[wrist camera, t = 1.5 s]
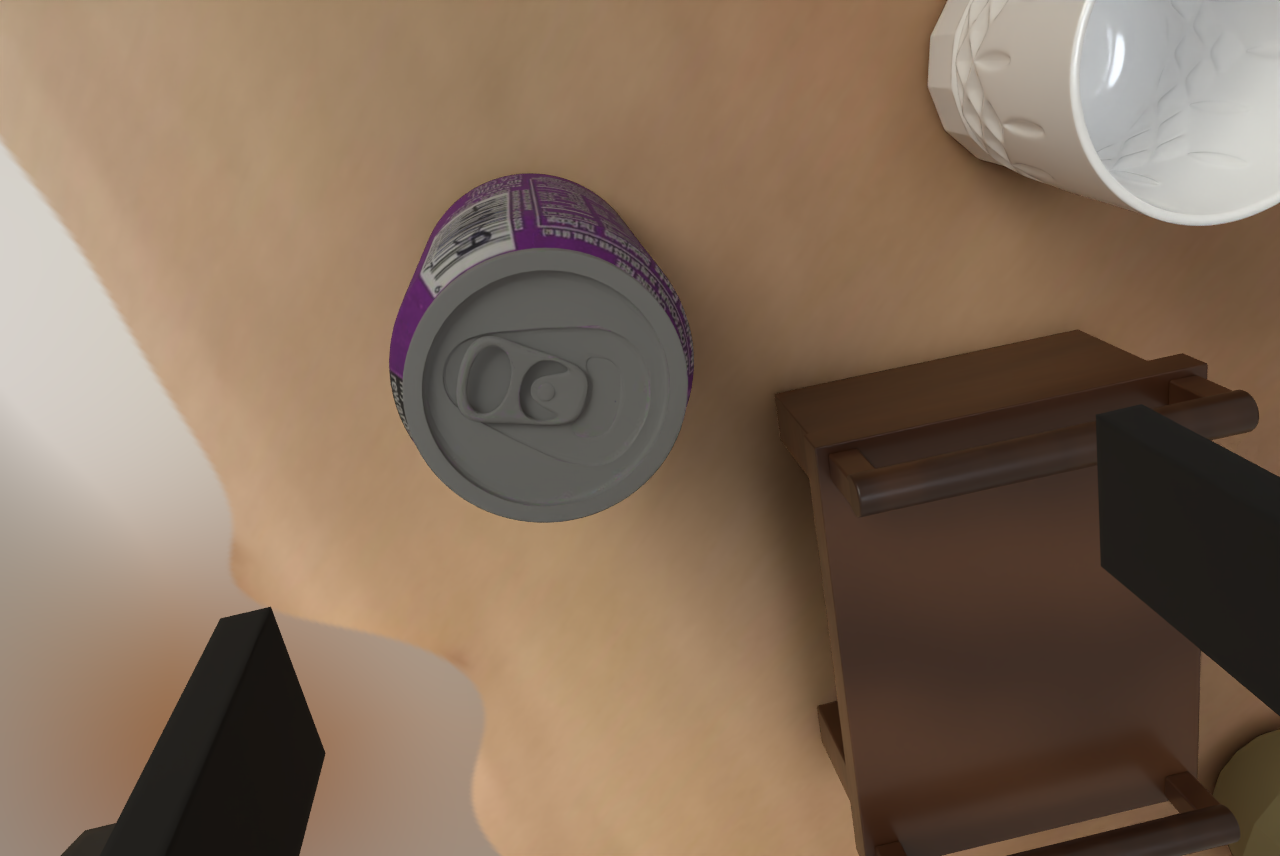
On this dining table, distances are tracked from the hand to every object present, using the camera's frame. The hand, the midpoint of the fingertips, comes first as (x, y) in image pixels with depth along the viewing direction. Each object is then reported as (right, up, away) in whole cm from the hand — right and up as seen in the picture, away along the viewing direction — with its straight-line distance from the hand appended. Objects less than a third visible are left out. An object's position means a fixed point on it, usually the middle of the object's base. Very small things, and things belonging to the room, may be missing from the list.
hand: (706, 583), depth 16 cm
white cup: (+11, +14, +17) cm, 25 cm away
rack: (+10, -2, +23) cm, 25 cm away
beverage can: (-5, +7, +17) cm, 19 cm away
